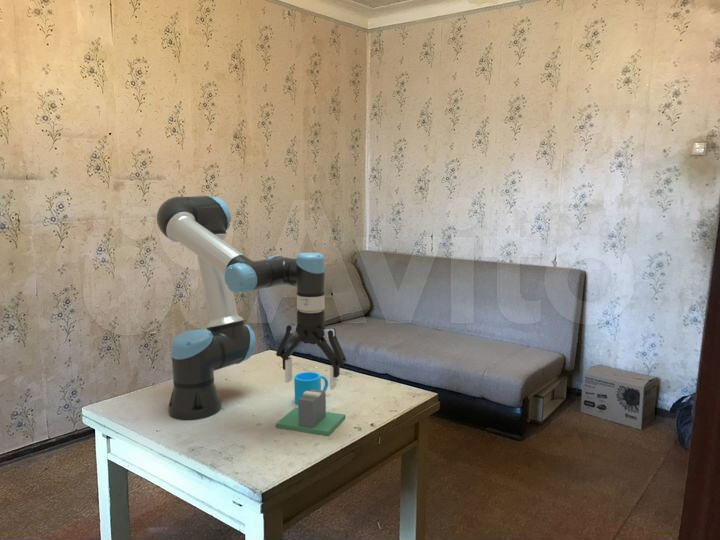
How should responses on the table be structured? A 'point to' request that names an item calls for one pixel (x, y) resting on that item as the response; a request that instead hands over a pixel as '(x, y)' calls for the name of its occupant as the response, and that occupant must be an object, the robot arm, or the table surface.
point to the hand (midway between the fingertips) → (310, 384)
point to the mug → (307, 383)
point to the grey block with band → (312, 408)
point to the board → (321, 428)
